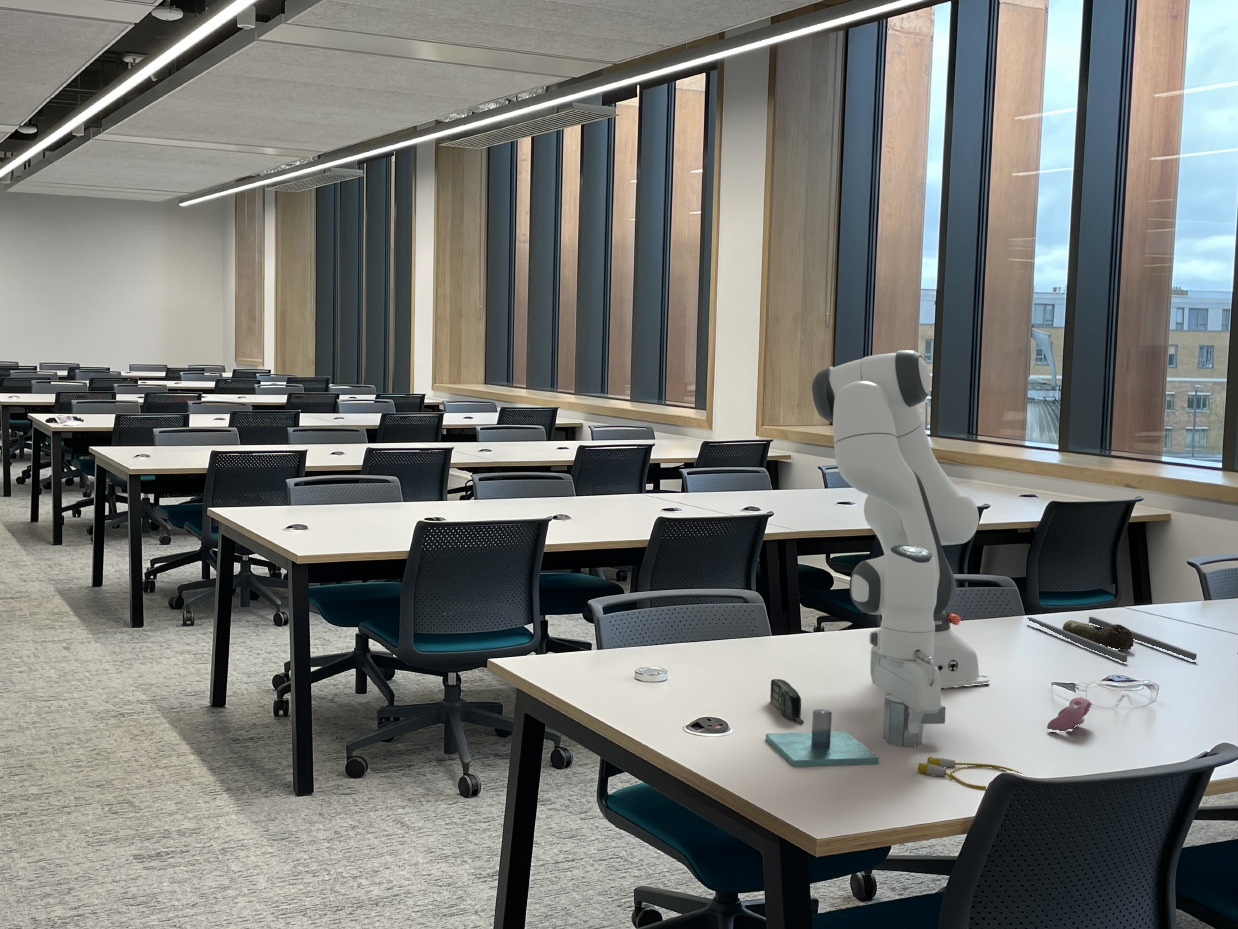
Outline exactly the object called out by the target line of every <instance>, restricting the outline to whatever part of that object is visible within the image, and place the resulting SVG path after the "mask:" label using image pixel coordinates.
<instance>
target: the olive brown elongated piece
mask: <svg viewBox="0 0 1238 929" xmlns="http://www.w3.org/2000/svg"><path fill="white" fill-rule="evenodd" d="M1061 629H1062V630H1065V631H1067V632H1070V633H1072V634H1075V635H1077V636H1080V637H1083V638H1085V639H1088V640H1090V641H1093V642H1095V643H1098V644H1102V645H1106V646H1109V647H1111V648H1115V649H1119V648H1120V649H1126V650H1125V651H1128V650H1130V651H1131V650H1132V647H1134V643H1135V642H1134V640H1133V638H1132V637H1133V636H1132V632H1131V631H1132V630H1131V631H1130V629H1129V628H1128V627H1125V626H1124V625H1123V624H1117V623H1115V625H1113V626H1108V627H1107V628H1102V627H1097V626H1094V625H1089V623H1085V622H1080V621H1075V620H1073V619H1072V620H1071V619H1070V620H1067V621H1066V622H1065V623H1064V624H1063V626H1062V628H1061ZM1106 646H1105V647H1106Z"/></svg>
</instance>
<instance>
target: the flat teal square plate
mask: <svg viewBox="0 0 1238 929" xmlns="http://www.w3.org/2000/svg"><path fill="white" fill-rule="evenodd" d="M832 715H833V712H832V711H830V710H828V709H820V708H818V709H813V710H812V721H811V722H812V723H811V725H812V726H811V731H808V732H807V731H805V732H778V733H777V732H773V733H765V740H766V741H767V742H768V743H769V745H771V746H772V747H773V749H775V750H776V751H777V752H778V753H779V754H780V755H781V756H782V757H783V758H784V759H785V760H786V761H788V763H789V764H791V765H792V767H817V766H818V767H821V766H823V767H825V766H852V765H878V764H879V759H880V757H879V756H878V755H876V754H875V753H874V752H873V751H871V750H870V749H869V748H868V747H866V746H865V745H864V744H862V743H861V742H860V741H858V740H857V739H856V738H855V737H854V736H852V735H851V734H849V733H848V732H847V731H845V730H843V731H841V730H840V731H838V730H837V731H832Z"/></svg>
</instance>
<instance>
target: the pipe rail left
mask: <svg viewBox="0 0 1238 929" xmlns="http://www.w3.org/2000/svg"><path fill="white" fill-rule="evenodd" d="M1027 619H1029V621H1032V622H1034V623H1037V624H1039V625H1040V626H1042V627H1045V628H1047V629H1049V630H1051V631H1053V632H1055V633H1057V634H1059V635H1062V636H1063V637H1065V638H1067V639H1070V640H1071V641H1073V642H1075V643H1078V644H1080V645H1082V646H1084V647H1087V648H1089V649H1091V650H1094V651H1097V652H1099V653H1102V654H1104V655H1108V656H1110V657H1112V658H1115V659H1118V660H1120V661H1122V662H1127V663H1128V654H1126V653H1124V652H1121V651H1116V650H1113V649H1111V648H1108V647H1106V646H1103V645H1100V644H1098V643H1095V642H1093V641H1090V640H1088V639H1085V638H1083V637H1080V636H1077V635H1075V634H1072V633H1070V632H1067V631H1065V630H1063V629H1062V628H1060V627H1058V626H1054V625H1052V624H1049V623H1047V622H1044V621H1042V620H1040V619H1037V618H1034V617H1031V616H1030V617H1029V616H1028V617H1027V618H1026V620H1027Z"/></svg>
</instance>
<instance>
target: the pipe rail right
mask: <svg viewBox="0 0 1238 929" xmlns="http://www.w3.org/2000/svg"><path fill="white" fill-rule="evenodd" d="M1089 623H1092V624H1095V625H1098V626H1100V627H1103V628H1107V627H1108V626H1113V625H1115V624H1116V623H1115V624H1114V623H1112V622H1109V621H1106V620H1103V619H1101V618H1097V617H1095V616H1088V624H1089ZM1129 630H1130V629H1129ZM1130 631H1131V632H1132V636H1133V637H1132V638H1133V639H1135V640H1138V641H1141V642H1144V643H1147V644H1150V645H1152V646H1156V647H1159V648H1162V649H1165V650H1167V651H1171V652H1173V653H1176V654H1178V655H1182V656H1184V657H1187V658H1190V659H1192V660H1195V659H1196V660H1197V658H1198V657H1197V655H1198V654H1197V653H1195V652H1192V651H1190V650H1186V649H1183V648H1181V647H1179V646H1175V645H1173V644H1170V643H1167V642H1164V641H1162V640H1160V639H1156V638H1153V637H1151V636H1148V635H1145V634H1142V633H1139V632H1137V631H1133V630H1130Z"/></svg>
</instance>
